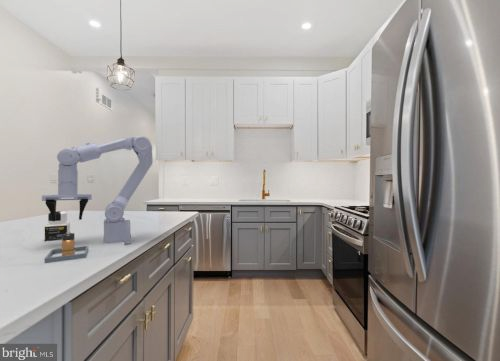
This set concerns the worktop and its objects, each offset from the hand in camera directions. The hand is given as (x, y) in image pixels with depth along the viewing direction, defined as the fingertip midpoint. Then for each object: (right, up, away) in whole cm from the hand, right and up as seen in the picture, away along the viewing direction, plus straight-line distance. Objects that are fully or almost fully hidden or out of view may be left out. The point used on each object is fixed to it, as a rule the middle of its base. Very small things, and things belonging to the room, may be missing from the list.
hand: (67, 220), depth 91 cm
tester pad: (+1, -10, -5) cm, 12 cm away
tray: (+9, -11, -12) cm, 18 cm away
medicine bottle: (-12, -10, +11) cm, 19 cm away
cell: (+9, -10, -12) cm, 18 cm away
